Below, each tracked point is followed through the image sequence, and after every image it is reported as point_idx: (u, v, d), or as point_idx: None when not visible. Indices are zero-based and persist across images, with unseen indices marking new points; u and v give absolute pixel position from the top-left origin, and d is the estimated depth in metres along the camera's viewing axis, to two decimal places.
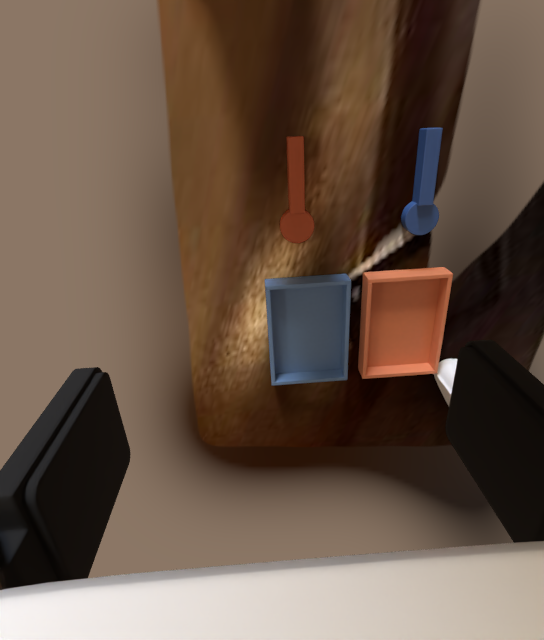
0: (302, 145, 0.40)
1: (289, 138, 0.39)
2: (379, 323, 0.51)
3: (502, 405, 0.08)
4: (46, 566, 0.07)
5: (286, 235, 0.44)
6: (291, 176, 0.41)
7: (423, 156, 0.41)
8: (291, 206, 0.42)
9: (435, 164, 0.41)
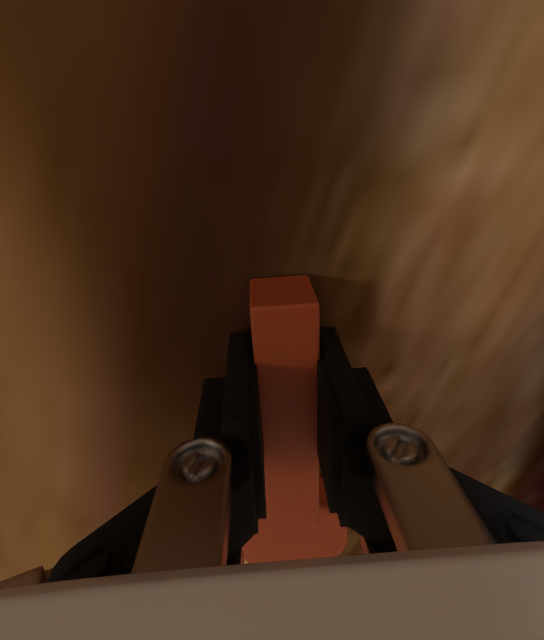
0: (313, 336, 0.09)
1: (256, 312, 0.09)
2: None
3: (318, 382, 0.09)
4: (253, 490, 0.08)
5: (258, 561, 0.14)
6: (271, 435, 0.10)
7: None
8: (271, 511, 0.12)
9: None
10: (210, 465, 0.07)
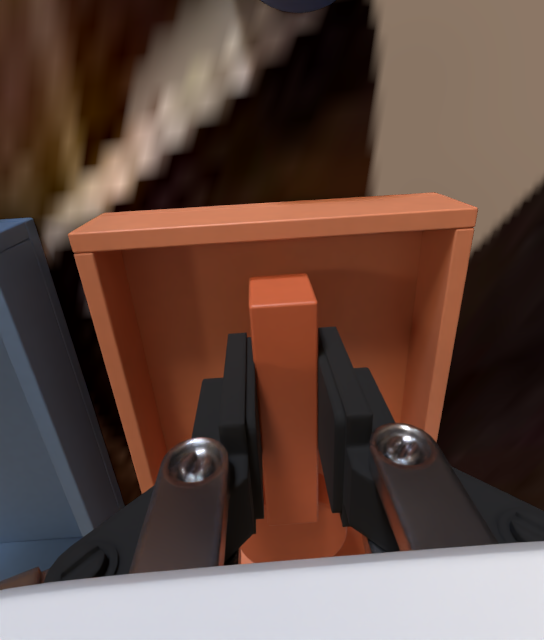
0: (312, 334, 0.09)
1: (255, 310, 0.09)
2: None
3: (320, 382, 0.09)
4: (251, 490, 0.08)
5: (258, 557, 0.14)
6: (270, 432, 0.11)
7: None
8: (271, 508, 0.12)
9: None
10: (207, 465, 0.07)
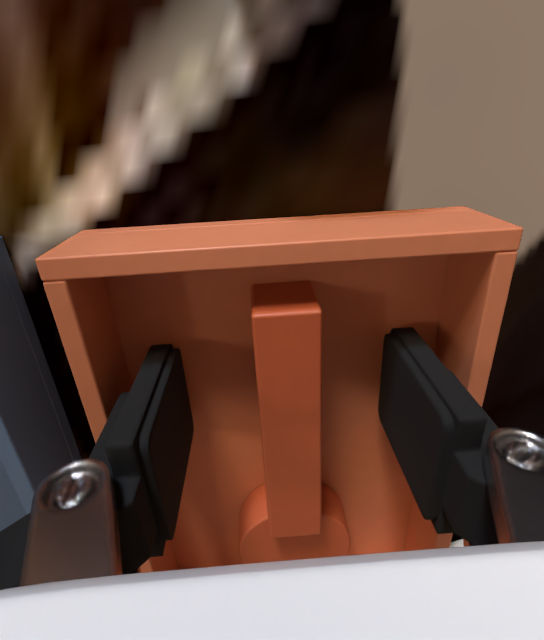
0: (316, 343, 0.09)
1: (258, 320, 0.09)
2: (204, 442, 0.13)
3: (409, 384, 0.09)
4: (150, 512, 0.08)
5: None
6: (273, 443, 0.10)
7: None
8: (273, 520, 0.12)
9: None
10: (85, 490, 0.07)
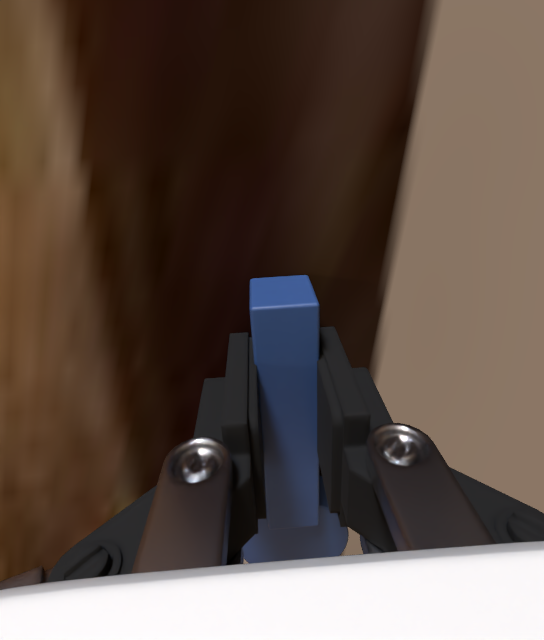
0: None
1: None
2: None
3: (318, 382, 0.09)
4: (253, 489, 0.08)
5: None
6: None
7: None
8: None
9: (308, 422, 0.10)
10: (210, 465, 0.07)
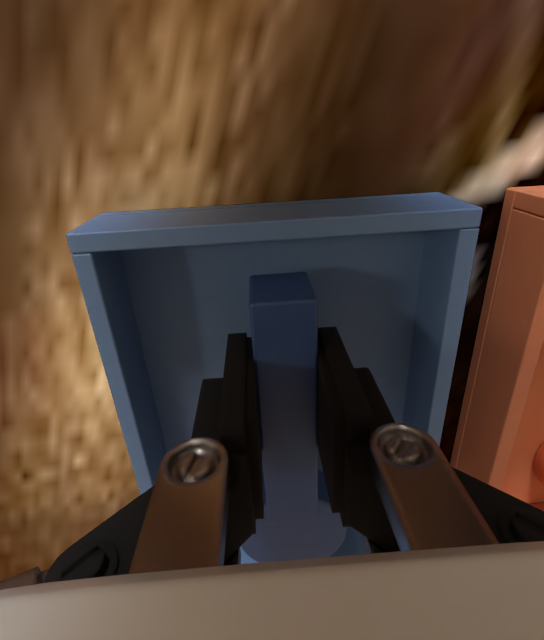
0: None
1: None
2: (535, 384, 0.14)
3: (321, 382, 0.09)
4: (250, 489, 0.08)
5: None
6: None
7: None
8: None
9: (307, 417, 0.11)
10: (207, 465, 0.07)
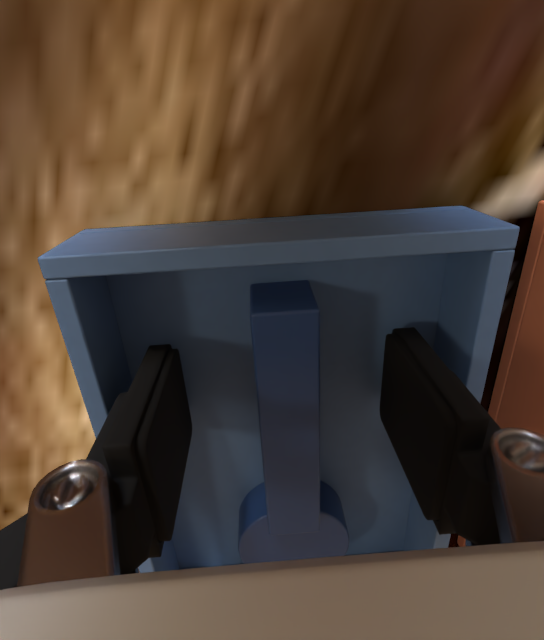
0: None
1: None
2: None
3: (411, 385, 0.09)
4: (147, 513, 0.08)
5: None
6: None
7: (257, 403, 0.10)
8: None
9: (309, 429, 0.10)
10: (82, 491, 0.07)
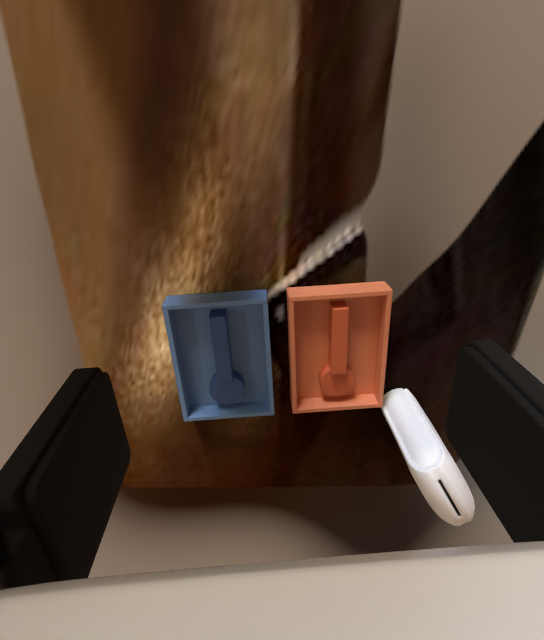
0: (347, 316, 0.39)
1: (334, 310, 0.38)
2: (310, 348, 0.42)
3: (502, 405, 0.08)
4: (46, 565, 0.07)
5: (326, 390, 0.43)
6: (335, 342, 0.40)
7: None
8: (333, 367, 0.41)
9: (225, 347, 0.39)
10: None
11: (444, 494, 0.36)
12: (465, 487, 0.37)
